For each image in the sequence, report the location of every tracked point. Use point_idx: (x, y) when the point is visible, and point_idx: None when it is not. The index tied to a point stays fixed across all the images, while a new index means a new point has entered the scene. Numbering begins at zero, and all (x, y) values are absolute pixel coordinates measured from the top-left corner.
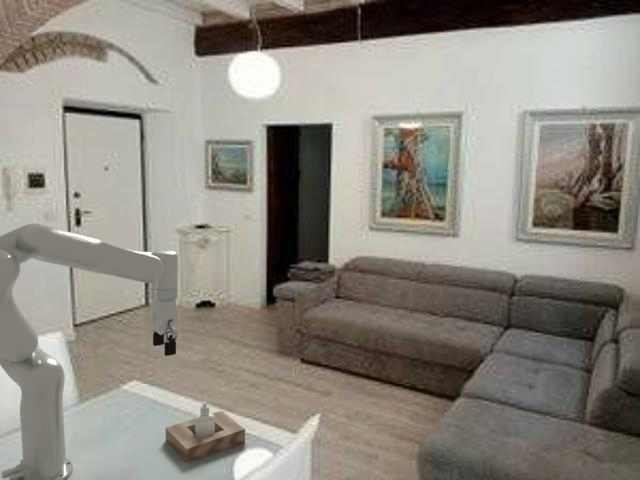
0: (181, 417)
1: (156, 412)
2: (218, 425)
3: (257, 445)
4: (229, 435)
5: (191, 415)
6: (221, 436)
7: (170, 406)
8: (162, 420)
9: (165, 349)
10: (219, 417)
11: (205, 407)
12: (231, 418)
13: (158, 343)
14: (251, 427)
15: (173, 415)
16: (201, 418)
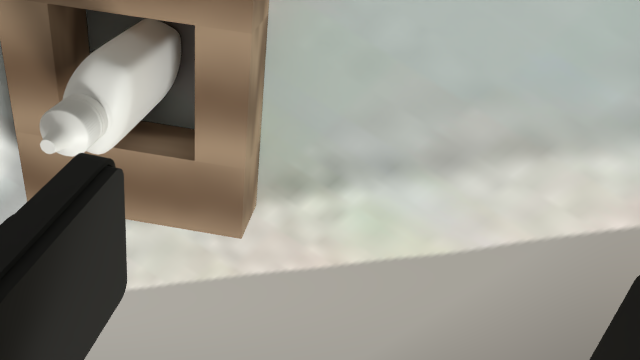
0: (434, 114)
1: (594, 52)
2: (123, 147)
3: (15, 187)
4: (18, 128)
5: (415, 158)
6: (13, 94)
7: (587, 141)
8: (484, 26)
9: (27, 212)
10: (185, 193)
11: (44, 129)
12: (145, 221)
13: (618, 345)
14: (149, 255)
15: (486, 98)
16: (70, 79)
